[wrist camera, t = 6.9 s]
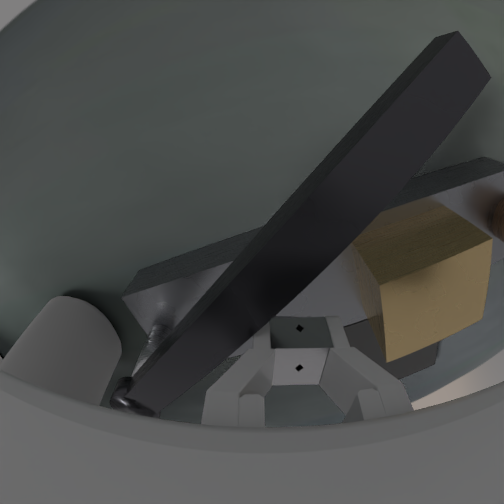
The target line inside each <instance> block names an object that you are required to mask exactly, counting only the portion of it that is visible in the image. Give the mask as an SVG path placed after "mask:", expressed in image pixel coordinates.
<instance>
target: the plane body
mask: <svg viewBox="0 0 504 504" xmlns="http://www.w3.org/2000/svg"><path fill="white" fill-rule="evenodd" d="M441 206H446V207H447V208H449V209H451V210H452V211H454V212H455V213H457V214H458V215H460V216H461V217H463V218H464V219H466V220H467V221H469V222H470V223H472V224H473V225H475V226H476V227H478V228H479V229H481V230H482V231H483V232H485V233H486V234H488V235H489V236H490V237H492V238H493V242H492V256H491V265H492V264H494V263H496V262H498V261H500V260H502V259H504V164H503V163H500V162H498V161H495V160H492V159H489V158H486V157H483V158H479V159H476V160H472V161H469V162H465V163H462V164H458V165H455V166H451V167H448V168H445V169H441V170H438V171H435V172H431V173H428V174H425V175H421V176H418V177H415V178H411V179H410V180H409V182H408V183H407V184H406V185H405V186H404V187H403V188H402V189H401V191H400V192H399V193H398V194H397V195H396V196H395V197H394V198H393V199H392V200H391V202H390V203H389V204H388V205H387V206H386V207H385V208H384V209H383V210H382V211H381V212H380V213H379V215H378V216H377V217H376V218H375V219H374V220H373V221H372V222H371V223H370V224H369V225H368V226H367V227H366V228H365V229H364V230H363V231H362V232H361V233H360V234H363V233H366V232H369V231H372V230H375V229H378V228H381V227H384V226H387V225H389V224H392V223H395V222H398V221H401V220H404V219H407V218H410V217H413V216H415V215H418V214H421V213H424V212H427V211H430V210H433V209H435V208H438V207H441ZM263 227H264V226H263ZM263 227H260V228H257V229H254V230H252V231H249V232H246V233H243V234H240V235H237V236H234V237H231V238H228V239H225V240H223V241H220V242H217V243H214V244H211V245H208V246H206V247H203V248H200V249H197V250H194V251H191V252H189V253H186V254H183V255H180V256H177V257H175V258H172V259H169V260H166V261H164V262H161V263H158V264H155V265H153V266H150V267H147V268H144V269H142V270H139V271H138V273H137V274H136V276H135V277H134V279H133V280H132V282H131V283H130V285H129V286H128V288H127V289H126V291H125V292H124V294H123V296H122V297H121V298H122V299H123V301H124V302H125V304H126V305H127V307H128V308H129V310H130V311H131V313H132V314H133V316H134V317H135V318H136V320H137V321H138V323H139V324H140V325H141V327H142V328H143V330H144V331H145V332H146V334H147V335H148V336H147V339H146V341H145V343H144V346H143V348H142V351H141V353H140V355H139V358H138V360H137V363H136V365H135V368H134V370H133V373H132V375H131V377H133V375H134V374H135V373H136V372H137V371H138V370H139V368H140V367H141V366H142V365H143V364H144V363H145V361H146V360H147V359H148V358H149V357H150V356H151V355H152V353H153V352H154V351H155V350H156V349H157V348H158V346H159V345H160V344H161V343H162V342H163V341H164V340H165V338H166V337H167V336H168V335H169V334H170V333H171V331H172V330H173V329H174V328H175V327H176V326H177V325H178V323H179V322H180V321H181V320H182V319H183V318H184V317H185V315H186V314H187V313H188V312H189V311H190V310H191V309H192V307H193V306H194V305H195V304H196V303H197V302H198V301H199V299H200V298H201V297H202V296H203V295H204V294H205V293H206V291H207V290H208V289H209V288H210V287H211V286H212V285H213V283H214V282H215V281H216V280H217V279H218V278H219V277H220V275H221V274H222V273H223V272H224V271H225V270H226V269H227V267H228V266H229V265H230V264H231V263H232V262H233V261H234V260H235V258H236V257H237V256H238V255H239V254H240V253H241V252H242V250H243V249H244V248H245V247H246V246H247V245H248V244H249V243H250V241H251V240H252V239H253V238H254V237H255V236H256V235H257V234H258V232H259V231H260V230H261V229H262V228H263ZM360 234H359V235H360ZM336 315H338V316H339V317H340V320H341V322H342V325H343V327H344V326H347V325H350V324H353V323H355V322H358V321H361V320H364V319H367V316H366V314H365V312H364V310H363V304H362V299H361V293H360V288H359V283H358V277H357V273H356V268H355V263H354V258H353V254H352V249H351V245H349V246H348V247H347V248H346V249H345V250H344V251H343V252H342V253H341V254H340V255H339V256H338V257H337V258H336V259H335V260H334V261H333V262H332V263H331V264H330V265H329V266H328V267H327V268H326V269H325V270H324V271H323V272H322V273H321V274H319V275H318V276H317V277H316V278H315V279H314V280H313V281H312V282H311V283H310V284H309V285H308V286H307V287H306V288H305V289H304V290H303V291H302V292H301V293H300V294H298V295H297V296H296V297H295V298H294V299H293V300H292V301H291V302H290V303H289V304H288V305H287V306H286V307H284V308H283V309H282V310H281V311H280V312H279V313H278V314H277V315H276V316H291V317H319V316H323V317H324V316H336ZM248 349H253V336H252V337H251V338H250V339H249V340H247V341H246V342H245V343H244V344H243V345H242V346H240V347H239V348H238V349H237V350H236V351H235V352H233V353H232V354H231V355H230V356H229V357H234V356H239V355H243V354H244V353H245V352H246V351H247V350H248ZM229 357H228V358H229Z"/></svg>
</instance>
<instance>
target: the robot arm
mask: <svg viewBox="0 0 504 504" xmlns="http://www.w3.org/2000/svg"><path fill="white" fill-rule="evenodd" d="M2 360H3V359H2V358H1V356H0V363H1V362H2ZM310 384H319V386H320V387H321V388H322V389H323V390H324V392H325V393H326V394H327V395H328V396H329V397H330V398H331V400H332V401H333V402H334V403H335V404H336V405H337V406H338V407H339V408H340V410H341V411H342V412H343V413H344V414H345V415H346V417H345V418H344V420H343V422H342V423H339V424H329V425H317V426H301V427H265V405H264V397H265V396H266V394H267V393H268V391H269V390H270V389H271V387H272V385H310ZM0 504H504V381H503V382H501V383H499V384H496V385H494V386H491V387H489V388H486V389H483V390H481V391H478V392H475V393H473V394H470V395H467V396H464V397H461V398H458V399H455V400H451V401H448V402H445V403H442V404H438V405H434V406H431V407H427V408H423V409H419V410H415V411H414V410H413V408H412V405H411V402H410V400H409V397H408V395H407V392H406V390H405V387H404V385H403V383H402V382H401V381H399V380H398V379H397V378H395V377H394V376H393V375H391V374H390V373H388V372H387V371H386V370H384V369H383V368H382V367H380V366H379V365H378V364H376V363H375V362H374V361H372V360H371V359H370V358H368V357H367V356H366V355H364V354H363V353H362V352H360V351H359V350H358V349H356V348H355V347H350V345H349V342H348V339H347V336H346V334H345V331H344V328H343V325H342V322H341V320H340V317H339V316H338V315H336V316H324V317H323V316H319V317H291V316H275V317H273V318H272V319H271V320H270V321H269V322H268V323H267V324H266V325H265V326H263V327H262V328H261V329H260V330H259V331H258V332H257V333H255V334H254V335H253V349H248V350H247V351H246V352H245V353H244V354H243V355H242V356H241V357H240V358H239V359H238V360H237V361H236V362H235V363H234V364H233V365H232V366H231V367H230V368H229V369H228V370H227V371H226V372H225V373H224V374H223V375H222V376H221V377H220V378H219V379H218V380H217V381H216V382H215V383H214V384H213V385H212V386H211V387H210V388H209V389H208V390H207V391H206V396H205V402H204V408H203V414H202V420H201V424H195V423H187V422H179V421H172V420H165V419H159V418H153V417H147V416H142V415H137V414H132V413H127V412H123V411H118V410H114V409H110V408H106V407H102V406H98V405H94V404H91V403H87V402H84V401H81V400H77V399H74V398H71V397H68V396H65V395H62V394H59V393H56V392H53V391H50V390H48V389H45V388H42V387H40V386H37V385H34V384H32V383H30V382H27V381H25V380H22V379H20V378H18V377H15V376H13V375H11V374H9V373H7V372H4V371H2V370H0Z"/></svg>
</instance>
